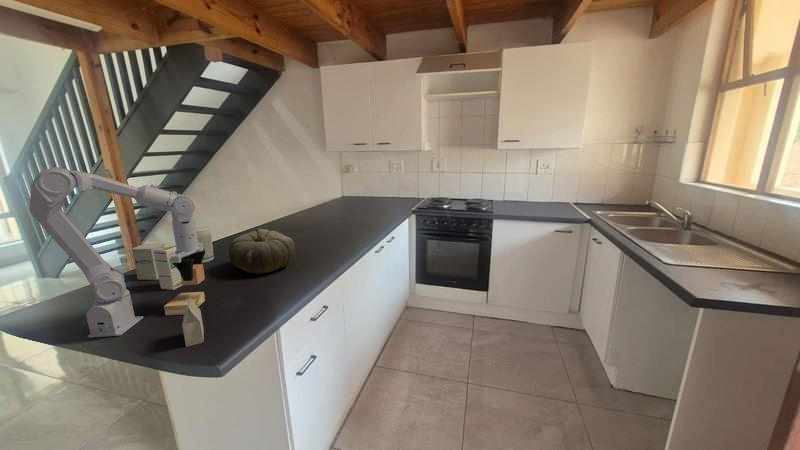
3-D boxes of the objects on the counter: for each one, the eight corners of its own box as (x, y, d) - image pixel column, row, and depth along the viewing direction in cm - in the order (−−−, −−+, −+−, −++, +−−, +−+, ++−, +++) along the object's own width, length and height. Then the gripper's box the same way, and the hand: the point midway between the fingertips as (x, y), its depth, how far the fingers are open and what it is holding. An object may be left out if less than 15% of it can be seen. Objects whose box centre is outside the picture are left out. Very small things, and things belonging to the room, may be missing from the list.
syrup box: (173, 290, 111) (166, 250, 107) (160, 288, 112) (152, 249, 108) (187, 283, 116) (181, 246, 113) (174, 282, 117) (167, 245, 114)
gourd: (263, 249, 148) (261, 214, 141) (308, 263, 141) (308, 227, 134) (217, 273, 126) (212, 233, 119) (268, 291, 119) (265, 250, 112)
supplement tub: (188, 265, 134) (182, 232, 131) (190, 259, 142) (185, 227, 139) (214, 262, 139) (209, 229, 135) (215, 256, 147) (210, 225, 143)
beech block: (191, 313, 94) (189, 304, 93) (165, 315, 93) (163, 306, 93) (205, 300, 103) (203, 291, 102) (182, 301, 102) (180, 293, 101)
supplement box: (137, 280, 119) (130, 248, 116) (151, 273, 126) (145, 243, 123) (156, 280, 119) (150, 248, 117) (170, 272, 127) (164, 242, 124)
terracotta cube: (198, 284, 96) (195, 269, 95) (182, 285, 96) (179, 269, 95) (204, 278, 101) (202, 264, 100) (189, 279, 100) (187, 264, 99)
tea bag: (203, 329, 86) (198, 296, 84) (203, 342, 80) (197, 306, 78) (187, 333, 84) (181, 299, 82) (186, 346, 78) (179, 310, 76)
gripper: (187, 241, 88) (194, 286, 91) (210, 229, 102) (216, 268, 105) (160, 241, 88) (168, 287, 91) (187, 229, 102) (193, 269, 105)
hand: (192, 277), depth 98 cm, fingers closed on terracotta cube, 4 cm apart
